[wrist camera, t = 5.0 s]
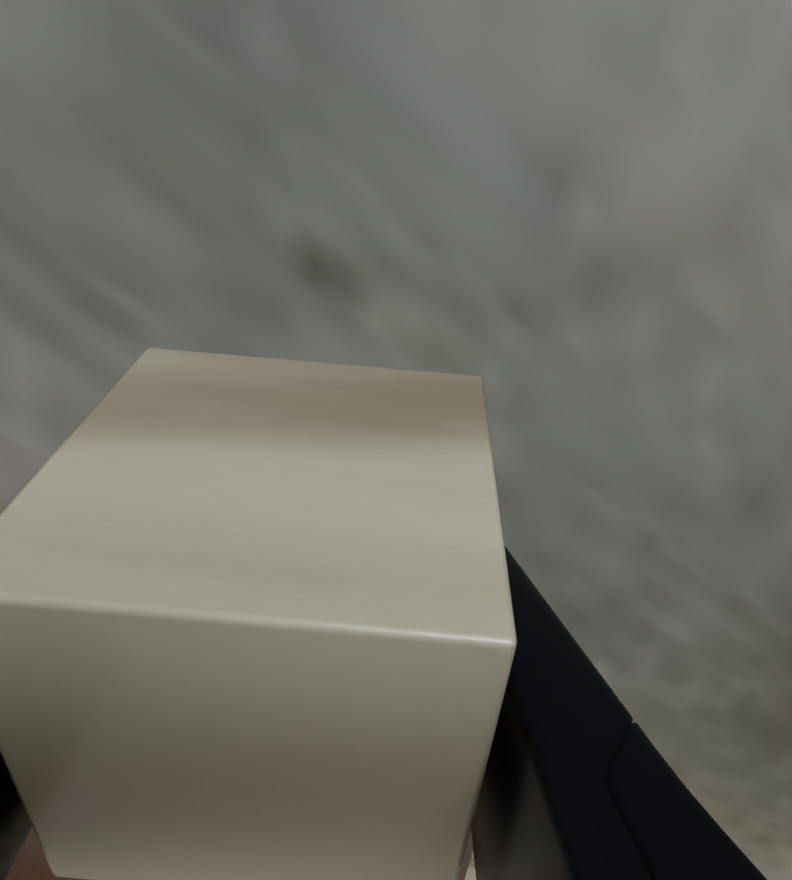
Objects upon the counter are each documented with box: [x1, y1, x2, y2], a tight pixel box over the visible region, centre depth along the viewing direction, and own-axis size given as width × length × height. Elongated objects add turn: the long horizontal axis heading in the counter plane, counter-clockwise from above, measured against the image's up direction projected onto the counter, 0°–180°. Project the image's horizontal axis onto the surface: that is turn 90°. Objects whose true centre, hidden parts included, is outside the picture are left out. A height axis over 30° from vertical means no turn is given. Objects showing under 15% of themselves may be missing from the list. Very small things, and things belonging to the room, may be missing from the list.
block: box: [0, 348, 517, 880], centre depth 8 cm, size 5×5×5 cm
